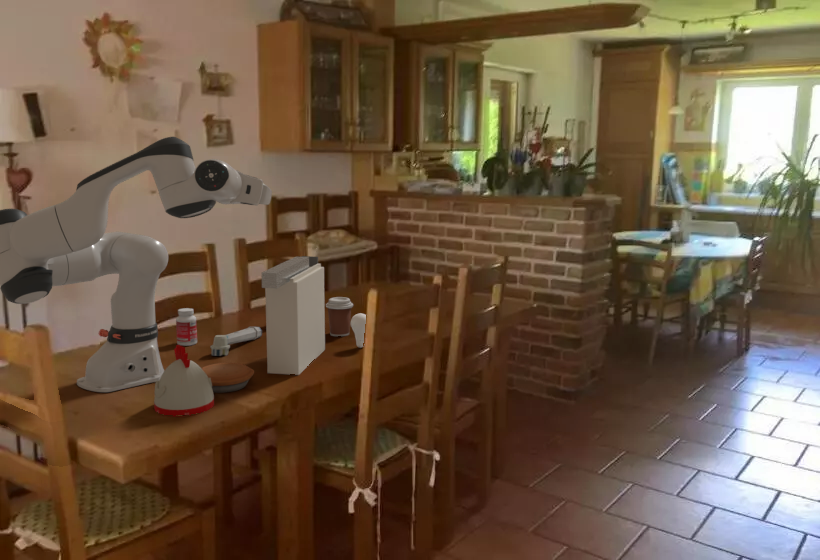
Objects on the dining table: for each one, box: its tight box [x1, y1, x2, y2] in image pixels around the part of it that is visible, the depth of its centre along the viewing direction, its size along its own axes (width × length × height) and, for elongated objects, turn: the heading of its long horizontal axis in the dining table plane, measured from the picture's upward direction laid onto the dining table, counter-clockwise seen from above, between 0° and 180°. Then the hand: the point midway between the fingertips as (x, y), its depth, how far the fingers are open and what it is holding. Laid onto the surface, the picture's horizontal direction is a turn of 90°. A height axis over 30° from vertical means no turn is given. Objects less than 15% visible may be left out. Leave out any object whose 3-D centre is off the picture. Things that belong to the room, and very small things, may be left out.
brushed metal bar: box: [261, 256, 309, 289], centre depth 204 cm, size 28×4×4 cm, turn 170°
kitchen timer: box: [153, 344, 215, 417], centre depth 178 cm, size 14×14×15 cm
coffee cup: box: [325, 296, 354, 337], centre depth 247 cm, size 9×9×12 cm
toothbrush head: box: [210, 326, 263, 357], centre depth 231 cm, size 5×7×25 cm
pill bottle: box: [175, 307, 198, 347], centre depth 233 cm, size 6×6×11 cm
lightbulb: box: [350, 312, 367, 349], centre depth 231 cm, size 6×6×11 cm
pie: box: [200, 362, 255, 394], centre depth 194 cm, size 16×16×5 cm
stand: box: [264, 255, 326, 376], centre depth 215 cm, size 27×9×29 cm, turn 170°
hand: (235, 192), depth 192 cm, fingers open, 8 cm apart
